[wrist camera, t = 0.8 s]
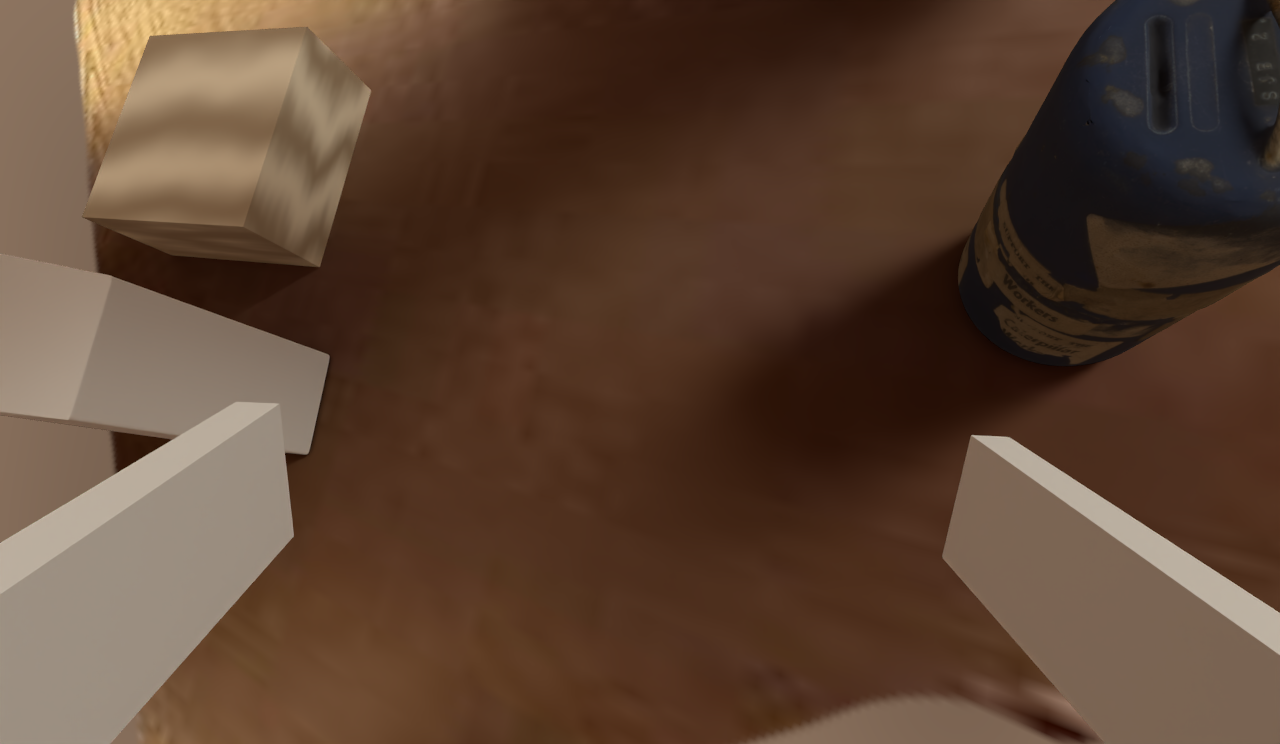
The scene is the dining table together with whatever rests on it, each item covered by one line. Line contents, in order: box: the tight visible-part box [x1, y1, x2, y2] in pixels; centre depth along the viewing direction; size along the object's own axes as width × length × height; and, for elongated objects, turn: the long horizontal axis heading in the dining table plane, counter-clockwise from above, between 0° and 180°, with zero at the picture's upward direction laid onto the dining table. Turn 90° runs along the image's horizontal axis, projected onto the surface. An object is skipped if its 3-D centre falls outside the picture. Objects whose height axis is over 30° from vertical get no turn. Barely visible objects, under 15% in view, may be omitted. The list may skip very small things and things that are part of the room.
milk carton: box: [0, 253, 330, 455], centre depth 36 cm, size 7×7×19 cm
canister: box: [958, 0, 1280, 366], centre depth 25 cm, size 10×10×18 cm
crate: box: [82, 27, 371, 267], centre depth 47 cm, size 15×15×7 cm
